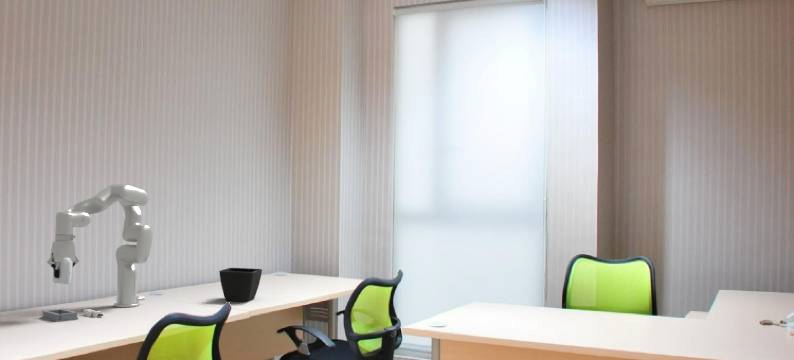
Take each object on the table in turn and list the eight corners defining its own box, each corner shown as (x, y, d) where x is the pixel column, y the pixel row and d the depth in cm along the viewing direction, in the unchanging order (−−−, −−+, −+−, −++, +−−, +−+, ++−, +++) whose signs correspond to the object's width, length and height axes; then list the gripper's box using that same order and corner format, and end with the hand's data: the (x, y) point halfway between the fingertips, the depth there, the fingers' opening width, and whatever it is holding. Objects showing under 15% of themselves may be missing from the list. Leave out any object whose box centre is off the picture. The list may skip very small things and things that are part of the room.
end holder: (62, 315, 344) (62, 308, 344) (78, 319, 334) (78, 312, 335) (41, 317, 336) (41, 311, 336) (56, 322, 327) (56, 314, 327)
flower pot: (262, 298, 410) (262, 268, 410) (252, 303, 391) (252, 271, 391) (229, 297, 412) (230, 267, 412) (218, 302, 393) (218, 270, 393)
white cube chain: (90, 313, 349) (90, 308, 349) (103, 317, 341) (103, 312, 341) (82, 314, 346) (82, 309, 346) (95, 318, 338) (95, 313, 338)
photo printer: (73, 283, 337) (74, 257, 337) (65, 284, 333) (66, 257, 333) (59, 282, 342) (60, 255, 342) (51, 282, 338) (52, 256, 339)
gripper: (77, 237, 347) (76, 275, 346) (41, 238, 334) (40, 278, 333) (85, 238, 342) (84, 276, 342) (49, 239, 329) (47, 279, 329)
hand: (62, 277), depth 338 cm, fingers closed on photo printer, 4 cm apart
